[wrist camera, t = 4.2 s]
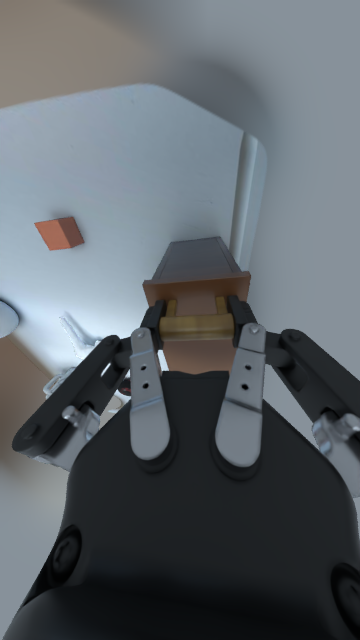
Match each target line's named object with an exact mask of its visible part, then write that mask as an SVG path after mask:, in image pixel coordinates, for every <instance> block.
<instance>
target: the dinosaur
mask: <svg viewBox="0 0 360 640" xmlns="http://www.w3.org/2000/svg"><path fill="white" fill-rule="evenodd" d="M59 319H60V321H61V323H62V326H63V327H64V329H65V331H66V333H67V335H68V336H69V338H70V340H71V341H72V344H73V346H74V352H75V355H76V356H77V357H78V358H80V359H82V360H84V359H85V358H86V357H87V356H88V355H89V353H90V352H91V351H92V350H93V349H94V348H95V347H96V346H97V345H98V344H99V343H100V342H101V341H98V340H97V341H96V342H95V344H94V345H95V346H92V345H85V344H84V343H83V341H82V340H81V339H80V338H79V336H78V335H77V333H76V332H75V331H74V329H73V328H72V326H71V325H70V324H69V323H68V321H67V320H66V319H65V318H63V317H59ZM110 365H111V364H110V363H109V364H108V365H107V367H106V368H105V369H104V371H103V372H102V375H103V374H104V373H105V371H106V370H107V369H108V367H109V366H110ZM102 375H101V377H102Z"/></svg>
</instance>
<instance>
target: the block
mask: <svg viewBox="0 0 360 640" xmlns="http://www.w3.org/2000/svg"><path fill="white" fill-rule="evenodd" d="M34 224H35V226H36V228H37V229H38V231H39V233H40V234H41V236H42V238H43V240H44V241H45V243H46V245H47V246H48V248H49V250H50V251H51V250H59V249H67V248H72V247H75V246H77V245H79V244H82V243H84V240H83V238H82V236H81V234H80V231H79V229H78V227H77V225H76V222H75V220H74V218H73V217H68V218H62V219H55V220H49V221H43V222H37V223H34Z"/></svg>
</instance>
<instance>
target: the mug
mask: <svg viewBox="0 0 360 640" xmlns="http://www.w3.org/2000/svg"><path fill="white" fill-rule="evenodd" d="M75 369H76V368H71V369H70V370H69V371H68V372H67V373H66V374H58V375H56V376H55V377H54V378H53V379H52V380H51V381H50V382H48V383H47V384H46V386H45V387H44V389H43V390H44V392H45V393H46V394H47V395H46V399H48V398H49V397H50V396H51V395H52V393H53V392H54V391H55V390H56V389H57V388H58V387H59V386H60V385H61V384H62V383H63V382H64V380H65V379H66V378H67V377H68V376H69V375H70V374H71V373H72V372H73V371H74V370H75ZM59 378H60V380H59V381H58V382H57V383H56V384H55V385H54V387H53V388H52V389H51V390H49V388H50V387H51V385H53V384H54V383H55V382H56V380H57V379H59Z"/></svg>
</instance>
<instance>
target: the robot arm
mask: <svg viewBox="0 0 360 640" xmlns="http://www.w3.org/2000/svg"><path fill="white" fill-rule="evenodd" d="M226 308H227V312H228V313H232V315H233V318H234V324H235V335H234V338H233V339H232V343H233V347H234V348H237V350H236V354H235V358H234V362H233V366H232V369H231V373H230V375H229V371H208V372H204V373H200V374H189V373H185V372H181V371H162V370H161V366H160V362H159V358H158V354H157V353H158V350H163V346H164V341H162V340H161V338H160V333H159V322H160V318H161V317H165V316H166V311H167V305H166V301H165V300H156V302H155V305H154V306H151V307H150V308H149V309H147V311H146V314H145V316H144V318H143V321H142V323H141V326H140V328H138V329H136V330H134V331H133V332H132V334H131V337H128V338H124V339H120V338H119V337H118V336H117V335H110V336H107V337H105V338H104V339H103V340H101V342H100V343H99V344H98V345H97V346H96V347H95V348H94V349H93V350H92V351H91V352H90V353H89V355H88V356H87V357H86V358H85V359H84V360H83V361H82V362H81V363H80V364H79V365H78V366H77V367H76V369H75V370H74V371H73V372H72V373H71V374H70V375H69V376H68V377H67V378H66V379H65V380H64V382H63V383H62V384H61V385H60V386H59V387H58V388H57V389H56V390H55V391H54V392H53V393H52V395H51V396H50V397H49V398H48V399H47V400H46V401H45V402H44V403H43V404H42V405H41V406H40V408H39V409H38V410H37V411H36V412H35V413H34V414H33V415H32V416H31V417H30V418H29V419H28V420H27V422H26V423H25V424H24V425H23V426H22V427H21V428H20V429H19V431H18V432H17V433H16V435H15V437H14V439H13V442H12V448H13V450H15V451H17V452H19V453H22V454H25V455H27V456H28V457H29V458H31V459H34V460H37V461H40V462H42V463H45V464H52V465H54V466H58V467H61V468H63V469H65V470H67V471H69V472H70V474H69V477H68V482H67V493H66V504H65V509H64V514H63V519H62V523H61V527H60V531H59V534H58V536H57V539H56V542H55V544H54V546H53V548H52V550H51V552H50V555H49V556H48V558H47V560H46V562H45V564H44V566H43V568H42V569H41V571H40V574H39V575H38V577H37V579H36V580H35V582H34V584H33V585H32V587H31V589H30V591H29V592H28V594H27V596H26V597H25V599H24V601H23V603H22V604H21V606H20V608H19V610H18V611H17V613H16V615H15V617H14V618H13V620H12V623H11V624H10V626H9V628H8V630H7V631H6V633H5V635H4V637H3V640H360V540H359V533H358V521H357V512H356V508H355V504H354V501H353V498H356V497H359V496H360V381H359V380H358V379H357V378H355V377H354V376H353V375H352V374H351V373H350V372H349V371H347V370H346V369H345V368H344V367H343V366H342V365H340V364H339V363H338V362H337V361H336V360H335V359H334V358H332V357H331V356H330V355H329V354H327V352H325V351H324V350H323V349H322V348H321V347H319V346H318V345H317V344H316V343H315V342H314V341H313V340H311V339H310V338H309V337H308V336H307V335H306V334H304V333H303V332H301V331H299V330H295V329H286V330H283V331H282V332H281V334H277V333H271V332H268V331H266V329H265V328H264V327H263V326H262V325H260V324H258V323H257V321H256V319H255V316H254V314H253V313H252V310H251V308H250V306H249V304H248V303H246V302H245V301H239V298H238V296H237V295H232V296H227V305H226ZM109 363H110V364H111V365H110V366H109V367H108V369H107V370H106V371H105V373H104V374H103V375H102V372H103V371H104V369H105V368H106V367H107V365H108V364H109ZM265 364H269V365H271V366H272V367H273V369H274V370H275V372H276V373H277V374H278V376H279V377H280V378H281V380H282V381H283V383H284V384H285V385H286V387H287V388H288V389H289V391H290V392H291V394H292V395H293V396H294V398H295V399H296V400H297V402H298V403H299V405H300V406H301V407H302V409H303V410H304V411H305V413H306V414H307V415H308V417H309V418H310V420H311V421H312V422H313V425H312V433H313V436H314V438H315V440H316V443H317V445H318V446H319V449H320V451H319V450H318V449H317V448H316V447H315V446H314V445H313V444H311V443H310V442H309V441H308V440H307V439H306V438H305V437H304V436H303V435H302V434H301V433H300V432H299V431H297V430H296V429H295V428H294V427H293V426H292V425H291V424H290V423H289V422H288V421H287V420H286V419H284V417H282V416H281V415H280V414H279V413H278V412H277V411H276V410H275V409H274V408H273V407H272V406H270V404H268V403H267V402H266V401H265V400H264V399H263V386H264V372H265ZM129 369H130V382H131V399H130V400H129V401H128V402H127V403H126V404H125V405H124V406H123V407H122V408H121V409H120V410H119V411H118V412H117V413H116V414H115V415H114V416H113V417H112V418H111V419H110V420H109V421H108V422H107V423H106V424H105V425H104V426H103V427H102V428H101V429H100V430H99V424H100V416H101V414H102V412H103V411H104V409H105V407H106V406H107V404H108V403H109V401H110V400H111V398H112V396H113V395H114V393H115V392H116V390H117V388H118V387H119V385H120V384H121V382H122V380H123V379H124V377H125V376H126V374H127V372H128V371H129ZM101 375H102V377H101Z"/></svg>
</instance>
